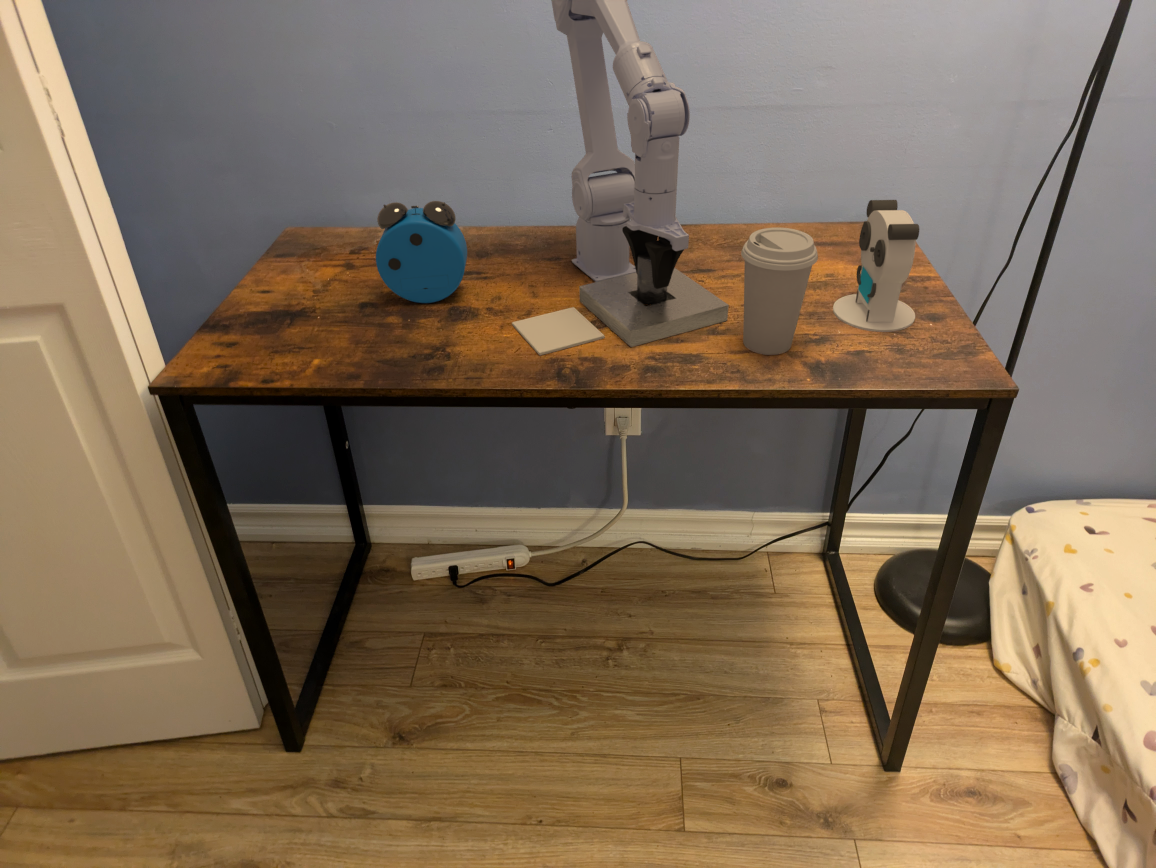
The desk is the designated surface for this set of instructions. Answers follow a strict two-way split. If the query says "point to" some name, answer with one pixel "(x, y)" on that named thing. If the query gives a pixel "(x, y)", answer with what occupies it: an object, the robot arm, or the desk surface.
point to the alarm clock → (420, 251)
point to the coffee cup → (775, 287)
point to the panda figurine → (881, 271)
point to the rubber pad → (557, 331)
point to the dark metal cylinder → (648, 282)
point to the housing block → (652, 308)
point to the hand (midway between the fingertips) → (652, 280)
